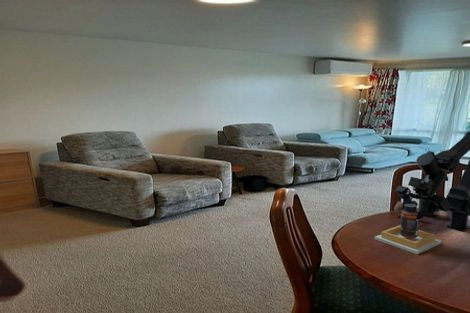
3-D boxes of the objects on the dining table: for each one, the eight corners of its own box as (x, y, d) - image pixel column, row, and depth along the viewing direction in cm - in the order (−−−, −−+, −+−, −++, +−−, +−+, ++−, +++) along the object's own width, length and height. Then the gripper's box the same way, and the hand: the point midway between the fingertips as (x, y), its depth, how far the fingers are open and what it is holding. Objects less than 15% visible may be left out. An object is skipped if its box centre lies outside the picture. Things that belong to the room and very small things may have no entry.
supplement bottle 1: (421, 238, 135) (423, 207, 133) (406, 239, 134) (408, 208, 132) (411, 232, 140) (413, 202, 139) (396, 233, 139) (398, 203, 138)
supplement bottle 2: (437, 214, 168) (439, 187, 166) (432, 217, 163) (435, 190, 161) (420, 210, 173) (423, 185, 171) (415, 214, 168) (417, 187, 166)
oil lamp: (416, 218, 163) (418, 199, 161) (415, 220, 159) (417, 202, 158) (394, 214, 167) (395, 196, 166) (393, 217, 164) (394, 199, 163)
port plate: (399, 230, 148) (399, 222, 148) (441, 243, 136) (442, 235, 135) (374, 239, 139) (375, 231, 139) (417, 254, 126) (418, 245, 126)
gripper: (400, 164, 143) (377, 196, 140) (448, 173, 127) (423, 210, 124) (412, 182, 149) (391, 214, 145) (460, 193, 132) (437, 229, 129)
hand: (409, 216), depth 136 cm, fingers closed on supplement bottle 1, 6 cm apart
